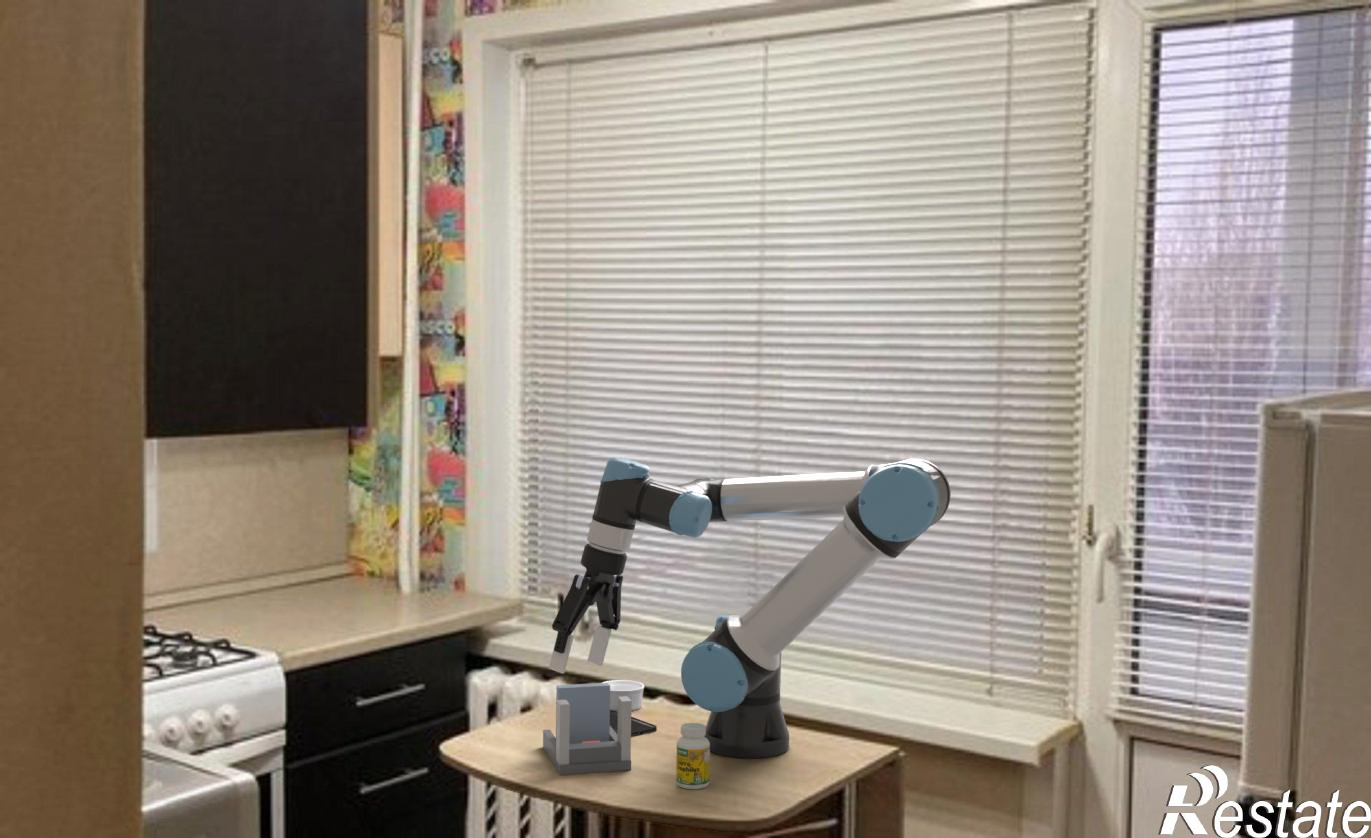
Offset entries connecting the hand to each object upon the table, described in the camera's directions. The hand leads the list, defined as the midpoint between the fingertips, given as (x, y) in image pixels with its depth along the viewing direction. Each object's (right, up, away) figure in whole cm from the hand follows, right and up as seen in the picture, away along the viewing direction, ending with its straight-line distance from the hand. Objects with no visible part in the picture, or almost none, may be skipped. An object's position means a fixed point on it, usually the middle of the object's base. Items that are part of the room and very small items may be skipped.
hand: (576, 667), depth 235 cm
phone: (+6, -15, +19) cm, 25 cm away
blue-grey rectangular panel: (+1, -13, +1) cm, 13 cm away
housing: (+2, -15, -2) cm, 15 cm away
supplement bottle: (+20, -17, -15) cm, 30 cm away
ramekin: (+6, -14, +32) cm, 36 cm away
